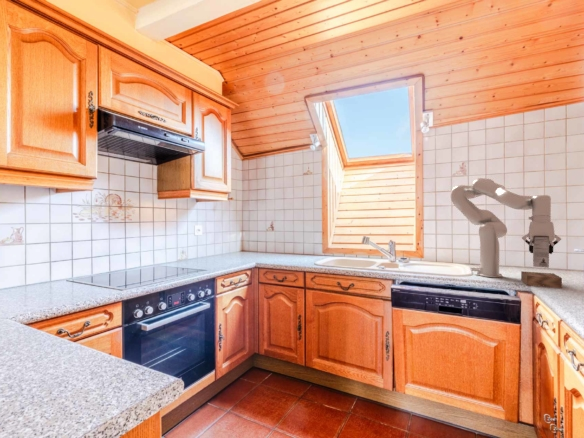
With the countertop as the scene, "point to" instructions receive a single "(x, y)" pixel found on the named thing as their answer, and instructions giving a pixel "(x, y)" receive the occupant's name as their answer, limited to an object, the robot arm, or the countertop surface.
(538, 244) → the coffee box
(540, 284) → the block
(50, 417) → the countertop surface
